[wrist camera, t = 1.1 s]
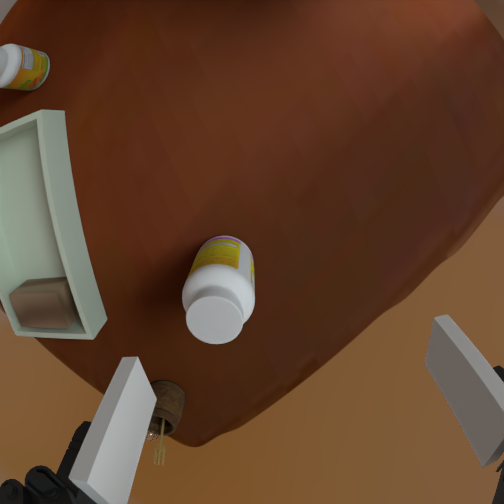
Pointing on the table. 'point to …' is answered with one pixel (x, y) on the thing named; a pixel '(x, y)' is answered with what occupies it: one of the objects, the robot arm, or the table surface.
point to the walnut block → (44, 303)
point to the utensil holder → (165, 412)
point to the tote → (43, 222)
